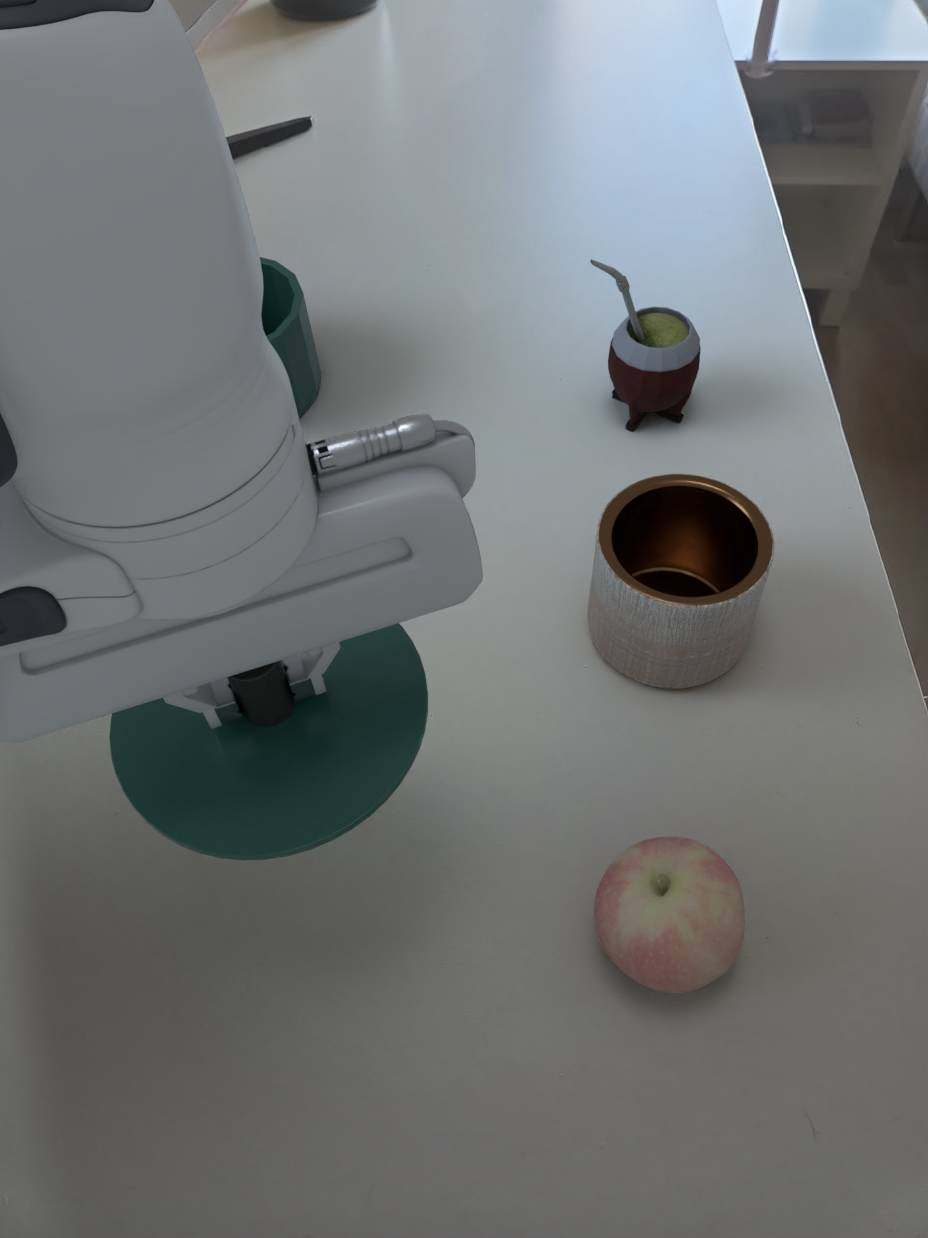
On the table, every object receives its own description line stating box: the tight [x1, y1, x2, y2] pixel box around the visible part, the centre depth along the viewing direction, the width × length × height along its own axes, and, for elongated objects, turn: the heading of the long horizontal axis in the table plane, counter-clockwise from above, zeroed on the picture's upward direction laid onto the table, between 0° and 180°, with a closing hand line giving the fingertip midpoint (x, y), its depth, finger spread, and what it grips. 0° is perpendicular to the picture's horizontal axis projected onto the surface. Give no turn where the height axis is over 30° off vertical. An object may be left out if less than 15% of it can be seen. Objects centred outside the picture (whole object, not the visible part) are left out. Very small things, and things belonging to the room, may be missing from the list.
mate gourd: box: [589, 259, 702, 432], centre depth 73 cm, size 8×8×15 cm
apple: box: [593, 836, 746, 994], centre depth 51 cm, size 8×8×8 cm
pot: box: [259, 256, 322, 419], centre depth 79 cm, size 13×19×8 cm
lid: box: [108, 623, 429, 861], centre depth 42 cm, size 14×14×5 cm
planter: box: [587, 473, 775, 689], centre depth 62 cm, size 11×11×10 cm
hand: (266, 698), depth 43 cm, fingers closed on lid, 2 cm apart
